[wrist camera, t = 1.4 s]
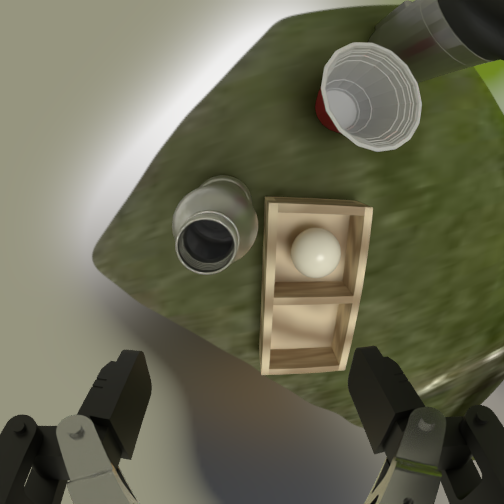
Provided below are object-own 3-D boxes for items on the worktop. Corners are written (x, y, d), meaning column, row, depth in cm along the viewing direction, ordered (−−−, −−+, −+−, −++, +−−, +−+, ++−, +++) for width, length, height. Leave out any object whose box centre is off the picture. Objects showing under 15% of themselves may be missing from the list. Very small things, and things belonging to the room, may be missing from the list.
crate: (264, 196, 36) (268, 203, 31) (355, 200, 37) (373, 207, 32) (259, 351, 43) (261, 374, 38) (334, 348, 44) (344, 369, 39)
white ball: (288, 222, 37) (297, 234, 31) (334, 223, 37) (350, 235, 31) (286, 267, 38) (293, 286, 33) (330, 267, 39) (344, 286, 33)
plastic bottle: (193, 178, 35) (140, 202, 16) (247, 170, 35) (255, 183, 16) (201, 228, 37) (163, 302, 18) (254, 221, 37) (268, 289, 18)
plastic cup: (339, 169, 36) (380, 176, 24) (278, 109, 33) (295, 86, 22) (390, 117, 33) (442, 107, 22) (334, 57, 31) (370, 23, 19)
